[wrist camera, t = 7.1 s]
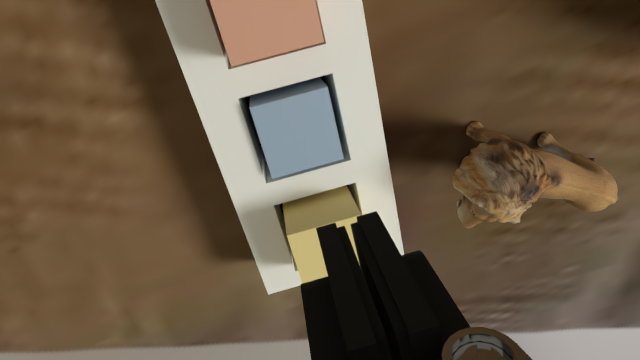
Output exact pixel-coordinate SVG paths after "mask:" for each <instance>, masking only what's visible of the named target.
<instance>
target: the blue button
mask: <svg viewBox="0 0 640 360" xmlns="http://www.w3.org/2000/svg"><path fill="white" fill-rule="evenodd" d="M249 108H250V111H251V114H252V118H253V121H254V124H255V127H256V130H257V133H258V136H259V139H260V142H261V146H262V149H263V152H264V155H265V158H266V161H267V164H268V167H269V170H270V173H271V177H272V179H274V178H277V177H281V176H284V175H288V174H292V173H295V172H299V171H302V170H306V169H310V168H313V167H317V166H320V165H324V164H328V163H331V162H335V161H338V160H342V159H344V157H343V153H342V148H341V144H340V139H339V135H338V130H337V126H336V121H335V117H334V112H333V108H332V103H331V99H330V94H329V90H328V86H327V85H326V84H325V83H324V82H323V81H322V79H321V78H320V77H317V78H313V79H309V80H306V81H302V82H298V83H294V84H291V85H287V86H283V87H280V88H276V89H272V90H268V91H265V92H261V93H257V94H254V95H250V107H249Z"/></svg>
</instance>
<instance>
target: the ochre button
mask: <svg viewBox="0 0 640 360" xmlns="http://www.w3.org/2000/svg"><path fill="white" fill-rule="evenodd" d="M282 204H283V212H284V219H285V226H286V234H287V238H288V241H289V244H290V247H291V250H292V253H293V256H294V259H295V262H296V266H297V269H298V272H299V275H300V278H301V281H302V283H306V282H310V281H313V280H317V279H320V278H324V277H327V276H328V274H327V270H326V266H325V262H324V258H323V254H322V250H321V246H320V242H319V238H318V234H317V230H316V228H318V227H321V226H325V225H328V224H332V223H336V226H337V228H338V227H341V226H345V228H346V231H347V233H348V236H349V239H350V241H351V244H352V246H353V249H354V252H355V254H356V257H357V260H358V262H359V259H358V255H357V251H356V246H355V242H354V238H353V234H352V229H351V224H352V223H356V222H357V216H361V213H360V211H359V209H358V207H357V205H356V203H355V201H354V199H353V197H352V195H351V193H350V191H349V189H348V187H347V185H345V186H342V187H338V188H335V189H331V190H327V191H324V192H320V193H317V194H313V195H310V196H306V197H302V198H299V199H295V200H292V201H288V202H285V203H282ZM359 265H360V264H359Z"/></svg>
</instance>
